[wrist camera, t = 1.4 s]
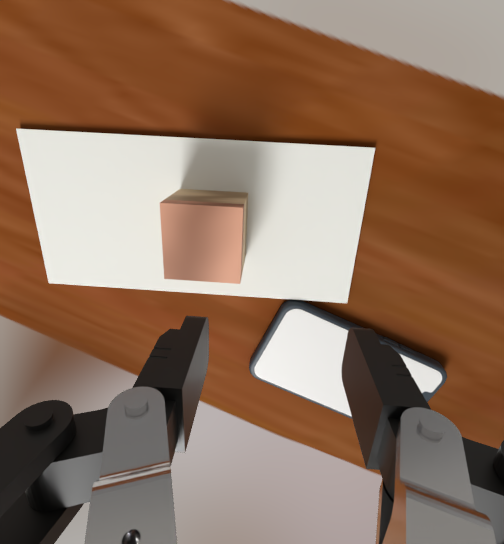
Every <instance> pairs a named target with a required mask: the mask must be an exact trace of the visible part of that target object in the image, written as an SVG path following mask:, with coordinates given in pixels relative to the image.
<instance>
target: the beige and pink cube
mask: <svg viewBox="0 0 504 544" xmlns="http://www.w3.org/2000/svg"><path fill="white" fill-rule="evenodd" d="M247 213H248V193H246V192H229V191H212V190H194V189H179V190H178V191H176V192H175V193H173V194H172V195H170V196H169V197H167V198H166V199H164V200H163V201H162V202H160V217H161V234H162V250H163V266H164V279H174V280H189V281H204V282H219V283H234V284H240V282H241V277H242V272H243V267H244V262H245V257H246V236H247Z"/></svg>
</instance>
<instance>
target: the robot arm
mask: <svg viewBox="0 0 504 544" xmlns="http://www.w3.org/2000/svg"><path fill="white" fill-rule="evenodd" d="M208 357H209V323H208V317H196V316H186V318H185V320H184V322H183V324H182V326H181V329H180V330H178V329H169V330H168V331H167V332H165V333H164V334H163V335H162V336H160V337H159V339H158V341H157V343H156V345H155V346H154V349H153V350H152V352H151V354H150V357H149V358H148V360H147V361H146V363H145V365H144V367H143V369H142V371H141V373H140V375H139V376H138V378H137V380H136V382H135V384H134V386H133V388H131V389H128V390H126V391H124V392H122V393H120V394H119V395H117V396H116V397H115V398H114V399H113V400H112V401H111V403H110V405H109V407H108V408H105V409H102V410H97V411H91V412H86V413H80V414H75V415H73V411H72V408H71V406H70V405H69V404H68V403H66V402H63V401H59V400H50V401H43V402H40V403H37V404H35V405H32V406H30V407H28V408H26V409H24V410H23V411H21V412H20V413H18V414H17V415H16V416H15V417H13V418H12V419H11V420H10V421H9V422H7V423H6V424H5V425H4V426H2V427H1V428H0V544H54V543H55V542H56V540H57V539H58V538H59V536H60V535H61V533H62V532H63V531H64V530H65V528H66V527H67V526H68V524H69V523H70V522H71V520H72V519H73V518H74V516H75V515H76V514H77V512H78V511H79V510H80V508H81V507H82V505H83V504H84V503H86V502H90V507H89V514H88V522H87V529H86V537H85V544H177V536H176V526H175V514H174V502H173V491H172V479H171V468H170V466H171V463H172V459H173V456H174V453H175V452H178V453H185V451H186V447H187V444H188V440H189V436H190V432H191V428H192V425H193V421H194V417H195V414H196V410H197V406H198V402H199V399H200V395H201V391H202V387H203V383H204V380H205V376H206V372H207V367H208ZM341 373H342V382H343V386H344V390H345V393H346V397H347V401H348V404H349V408H350V411H351V415H352V419H353V422H354V426H355V429H356V433H357V437H358V440H359V444H360V447H361V451H362V455H363V458H364V462H365V465H366V469H378V470H380V472H381V475H382V478H383V479H382V482H381V486H380V490H379V503H378V504H379V505H378V517H377V530H376V544H504V441H503V442H502V443H501V446H500V448H499V449H496V448H493V447H490V446H487V445H484V444H481V443H478V442H474V441H471V440H469V439H466V438H463V437H461V434H460V432H459V430H458V429H457V427H456V426H455V425H454V424H453V423H452V422H451V421H450V420H449V419H447V418H446V417H444V416H443V415H441V414H439V413H437V412H435V411H433V410H431V409H430V407H429V405H428V403H427V401H426V400H425V398H424V396H423V394H422V393H421V391H420V389H419V387H418V386H417V384H416V382H415V380H414V378H413V377H412V375H411V373H410V371H409V370H408V368H406V364H405V362H404V361H403V359H402V357H401V355H400V354H399V353H398V352H396V351H395V350H394V349H393V348H392V347H391V346H389V345H385V344H381V343H380V341H379V339H378V337H377V335H376V333H375V332H374V330H373V329H365V328H350V329H349V331H348V335H347V340H346V345H345V351H344V356H343V361H342V370H341Z"/></svg>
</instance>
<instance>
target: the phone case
mask: <svg viewBox="0 0 504 544" xmlns="http://www.w3.org/2000/svg"><path fill="white" fill-rule="evenodd" d="M350 328H363V327H361V326H358V325H356V324H354V323H352V322H349V321H347V320H345V319H343V318H340V317H338V316H336V315H333V314H331V313H329V312H327V311H324V310H322V309H320V308H318V307H315V306H313V305H311V304H309V303H306V302H304V301H302V300H292V299H291V300H288V301H286V302H284V303H283V304H282V305H281V307H280V308H279V310H278V312H277V314H276V315H275V317H274V319H273V321H272V322H271V324H270V326H269V328H268V329H267V331H266V333H265V335H264V336H263V338H262V340H261V342H260V343H259V345H258V347H257V349H256V350H255V352H254V354H253V356H252V357H251V359H250V365H249V370H250V373H251V374H252V375H253V376H254V377H255V378H257V379H259V380H261V381H263V382H266V383H268V384H271V385H273V386H275V387H278V388H280V389H282V390H285V391H287V392H290V393H292V394H294V395H297V396H299V397H302V398H304V399H306V400H309V401H311V402H313V403H316V404H318V405H321V406H323V407H325V408H328V409H330V410H333V411H335V412H337V413H340V414H342V415H344V416H347V417H349V418H352V415H351V411H350V408H349V404H348V401H347V397H346V393H345V390H344V386H343V382H342V373H341V370H342V361H343V356H344V351H345V345H346V340H347V335H348V331H349V329H350ZM376 335H377V337H378V339H379V341H380V343H381V344H385V345H389V346H391V347H392V348H393V349H394V350H395V351H396V352H398V353H399V354H400V355H401V357H402V359H403V361H404V362H405V364H406V368H408V370H409V371H410V373H411V375H412V377H413V378H414V380H415V382H416V384H417V386H418V387H419V389H420V391H421V393H422V394H423V396H424V398H425V400H426V401H427V402H428V401H429V400H430V398H431V397H432V396H433V395H434V394H435V393H436V392H437V391H438V390H439V388H440V387H441V386H442V385H443V384H444V383H445V381H446V378H447V374H446V371H445V370H444V368H443V367H442V365H441V364H440V363H439V362H438V361H436V360H434V359H432V358H430V357H428V356H425V355H423V354H421V353H419V352H417V351H414V350H412V349H410V348H408V347H406V346H404V345H402V344H399V343H396V342H395V341H393V340H391V339H388V338H386V337H383V336H381V335H379V334H376Z"/></svg>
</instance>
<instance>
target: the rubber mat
mask: <svg viewBox="0 0 504 544" xmlns="http://www.w3.org/2000/svg"><path fill="white" fill-rule="evenodd" d="M16 130H17V135H18V140H19V145H20V149H21V154H22V159H23V163H24V168H25V173H26V178H27V182H28V187H29V192H30V197H31V201H32V206H33V211H34V215H35V220H36V225H37V230H38V234H39V239H40V244H41V249H42V253H43V258H44V263H45V267H46V272H47V277H48V282H49V283H55V284H69V285H84V286H99V287H114V288H129V289H144V290H159V291H173V292H188V293H203V294H218V295H233V296H248V297H263V298H277V299H292V300H307V301H322V302H337V303H347V301H348V296H349V290H350V285H351V279H352V273H353V268H354V262H355V257H356V251H357V246H358V240H359V235H360V229H361V224H362V218H363V213H364V207H365V202H366V196H367V191H368V185H369V180H370V174H371V169H372V163H373V158H374V152H375V148H372V147H354V146H335V145H316V144H298V143H279V142H261V141H242V140H223V139H205V138H186V137H167V136H149V135H130V134H111V133H93V132H74V131H55V130H37V129H16ZM179 189H194V190H212V191H229V192H246V193H248V213H247V236H246V257H245V262H244V267H243V272H242V277H241V282H240V284H234V283H219V282H204V281H189V280H174V279H164V266H163V250H162V234H161V217H160V202H162V201H163V200H164V199H166V198H167V197H169V196H170V195H172V194H173V193H175V192H176V191H178V190H179Z"/></svg>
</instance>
